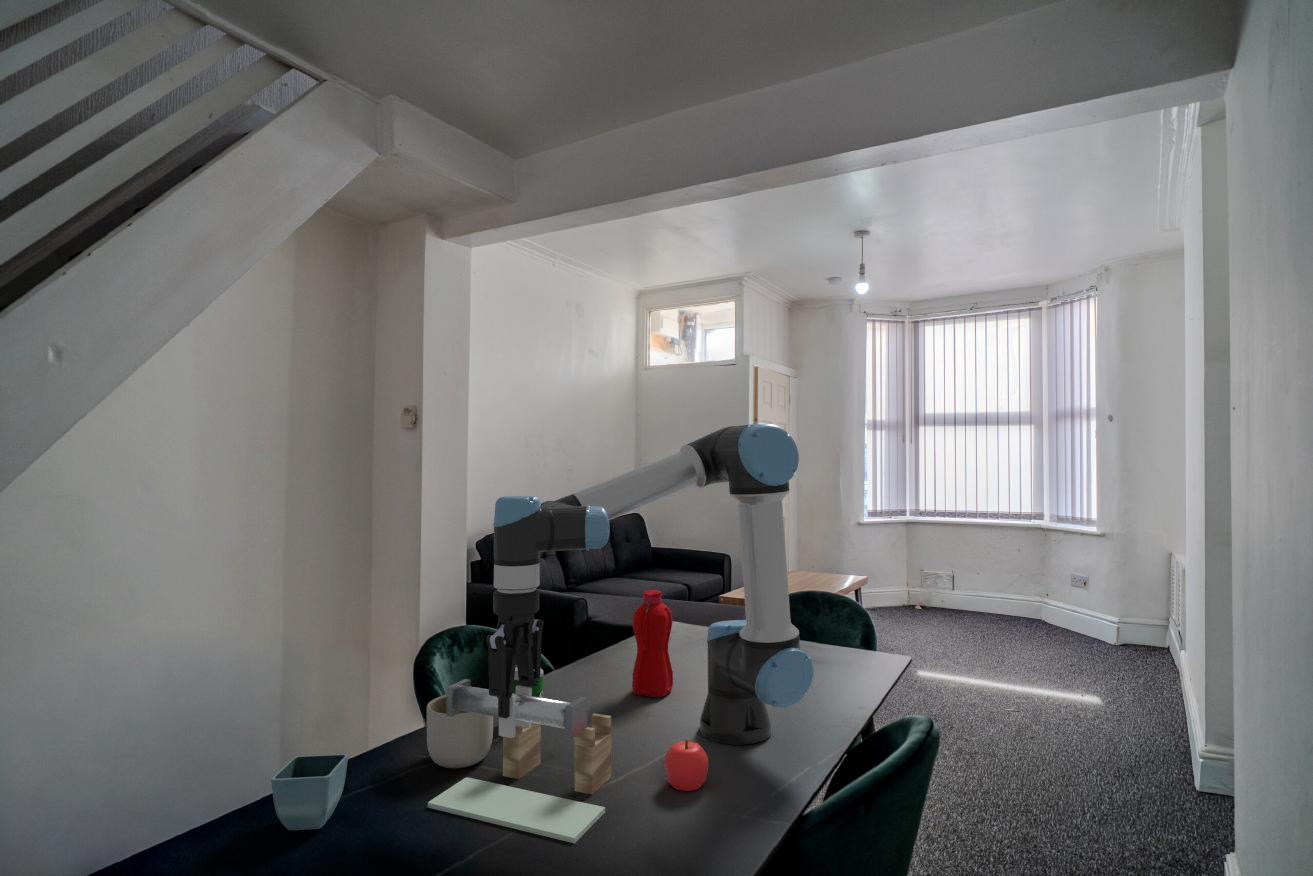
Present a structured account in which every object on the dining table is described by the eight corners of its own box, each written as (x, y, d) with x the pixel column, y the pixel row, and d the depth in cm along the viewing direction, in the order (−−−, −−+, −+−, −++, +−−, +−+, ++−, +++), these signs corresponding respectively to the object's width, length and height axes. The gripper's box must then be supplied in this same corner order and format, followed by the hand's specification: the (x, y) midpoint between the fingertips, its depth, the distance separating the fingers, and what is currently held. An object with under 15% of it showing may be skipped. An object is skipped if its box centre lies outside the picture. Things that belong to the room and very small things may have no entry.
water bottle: (625, 698, 168) (625, 594, 169) (643, 684, 178) (642, 586, 179) (660, 703, 165) (660, 596, 165) (676, 688, 175) (676, 588, 176)
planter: (432, 780, 125) (432, 719, 126) (421, 754, 136) (421, 698, 137) (500, 765, 131) (500, 707, 131) (484, 742, 142) (484, 688, 142)
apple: (664, 775, 127) (664, 731, 127) (708, 775, 127) (708, 731, 127) (663, 796, 119) (663, 749, 119) (710, 796, 119) (709, 749, 119)
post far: (540, 763, 132) (540, 704, 132) (519, 779, 125) (519, 717, 126) (525, 760, 133) (525, 702, 134) (502, 776, 127) (503, 715, 127)
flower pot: (293, 810, 115) (294, 755, 115) (348, 807, 115) (349, 753, 116) (268, 839, 106) (269, 779, 106) (328, 836, 107) (329, 777, 107)
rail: (586, 727, 112) (587, 697, 113) (572, 738, 108) (572, 707, 108) (464, 706, 122) (465, 678, 122) (446, 715, 117) (446, 687, 118)
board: (605, 812, 114) (605, 807, 114) (574, 843, 104) (574, 838, 104) (466, 781, 125) (466, 777, 125) (427, 807, 115) (427, 802, 115)
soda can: (535, 730, 148) (535, 673, 149) (502, 727, 150) (503, 671, 150) (548, 717, 156) (548, 663, 156) (516, 714, 157) (516, 661, 157)
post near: (611, 777, 126) (611, 716, 126) (592, 794, 120) (592, 730, 120) (594, 773, 128) (594, 713, 128) (574, 791, 121) (574, 727, 121)
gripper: (526, 579, 125) (525, 710, 124) (465, 596, 109) (463, 746, 108) (562, 582, 122) (561, 716, 121) (505, 600, 106) (503, 754, 106)
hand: (515, 730), depth 115 cm, fingers closed on rail, 4 cm apart
